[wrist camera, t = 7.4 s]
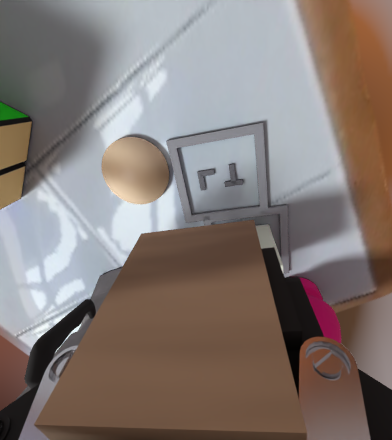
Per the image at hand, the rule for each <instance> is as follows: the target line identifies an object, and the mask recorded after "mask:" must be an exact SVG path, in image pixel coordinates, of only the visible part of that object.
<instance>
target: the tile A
mask: <svg viewBox="0 0 392 440" xmlns="http://www.w3.org/2000/svg"><path fill="white" fill-rule="evenodd" d="M252 134H254V137H255V150H256V163H257V177H258V190H259V204H260V206H254V207H246V208H238V209H230V210H223V211H215V212H207V213H199V214H192V213H191V209H190V204H189V200H188V195H187V191H186V186H185V182H184V177H183V173H182V168H181V164H180V159H179V155H178V150H177V148H180V147H185V146H191V145H196V144H202V143H207V142H213V141H218V140H224V139H229V138H235V137H241V136H246V135H252ZM166 142H167V146H168V150H169V154H170V158H171V163H172V167H173V171H174V175H175V179H176V183H177V188H178V192H179V196H180V200H181V204H182V208H183V212H184V217H185V221H186V223H189V222H197V221H203V220H204V219H205V220H209V219H210V220H213V219H221V218H229V217H237V216H246V215H254V214H261V213H263V212H264V213H268V199H267V182H266V164H265V146H264V129H263V123H258V124H252V125H247V126H242V127H236V128H231V129H226V130H220V131H215V132H210V133H205V134H199V135H194V136H189V137H183V138H178V139H173V140H167V141H166ZM229 170H230V178H231V181H227V182H225V187H228V186H235V185H242V184H243V180H242V179H241V180H236V177H235V169H234V164H230V165H229ZM197 173H198V178H199V183H200V188H201V190H206V188H205V183H204V177H203V176H207V175H213V174H214V169H211V170H205V171H199V172H197ZM226 214H227V215H226ZM206 216H207V217H208V216H209V217H210V218H209V219H208V218H206ZM203 217H205V218H203ZM219 217H221V218H219ZM205 220H204V221H205Z"/></svg>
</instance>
